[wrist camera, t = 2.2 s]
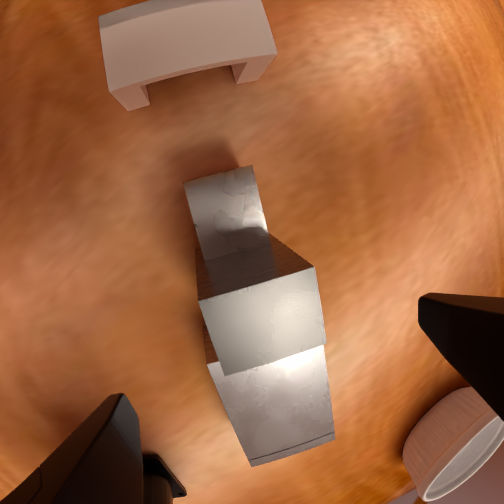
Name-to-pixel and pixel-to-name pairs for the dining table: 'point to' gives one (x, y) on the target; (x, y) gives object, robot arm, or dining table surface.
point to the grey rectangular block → (182, 43)
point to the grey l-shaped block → (249, 277)
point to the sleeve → (276, 404)
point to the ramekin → (451, 443)
